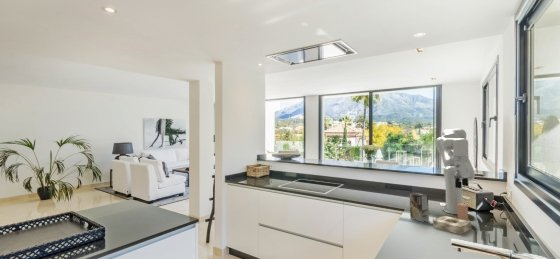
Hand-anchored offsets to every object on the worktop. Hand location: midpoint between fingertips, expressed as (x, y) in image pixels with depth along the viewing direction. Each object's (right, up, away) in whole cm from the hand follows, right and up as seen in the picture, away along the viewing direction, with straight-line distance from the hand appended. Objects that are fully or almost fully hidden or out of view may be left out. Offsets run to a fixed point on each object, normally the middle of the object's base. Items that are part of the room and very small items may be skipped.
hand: (461, 186), depth 156 cm
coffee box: (-22, -23, +7) cm, 33 cm away
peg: (0, -22, 0) cm, 22 cm away
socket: (-12, -22, -9) cm, 26 cm away
